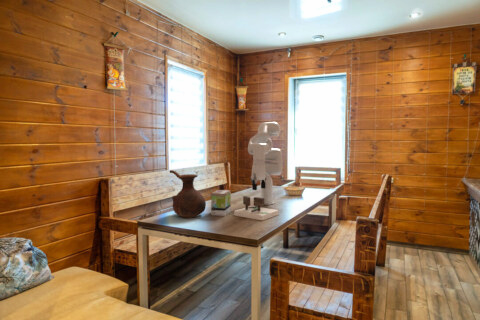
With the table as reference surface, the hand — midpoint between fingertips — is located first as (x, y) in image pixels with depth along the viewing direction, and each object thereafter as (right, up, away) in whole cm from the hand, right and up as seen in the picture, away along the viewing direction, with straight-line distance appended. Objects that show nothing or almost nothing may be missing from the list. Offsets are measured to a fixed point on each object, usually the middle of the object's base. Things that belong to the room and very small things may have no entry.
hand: (258, 189), depth 204 cm
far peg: (-5, -14, +6) cm, 16 cm away
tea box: (-25, -17, +8) cm, 31 cm away
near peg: (-2, -14, -1) cm, 14 cm away
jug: (-46, -18, +2) cm, 49 cm away
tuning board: (-2, -17, +3) cm, 17 cm away
